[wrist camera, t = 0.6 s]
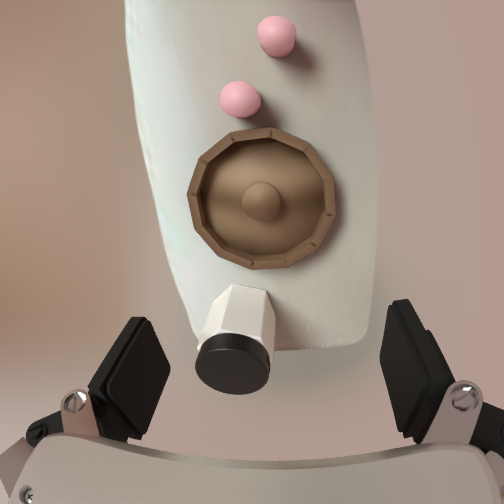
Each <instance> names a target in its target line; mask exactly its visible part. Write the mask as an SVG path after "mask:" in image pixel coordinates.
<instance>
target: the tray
mask: <svg viewBox="0 0 504 504" xmlns="http://www.w3.org/2000/svg"><path fill="white" fill-rule="evenodd" d="M187 197H188V202H189V207H190V211H191V216H192V221H193V225H194V229H195V230H196V232H197V233H198V234H199V235H200V236H201V237H202V239H203V240H204V241H205V242H206V243H207V244H208V245H209V247H210V248H211V249H212V250H213V251H214V252H215V253H216V255H217V256H218V257H221V258H223V259H226V260H228V261H231V262H233V263H236V264H238V265H241V266H243V267H246V268H248V269H252V270H257V269H270V268H283V267H287V266H288V267H289V266H290V265H292V264H294V263H295V262H297V261H298V260H300V259H302V258H303V257H305V256H306V255H308V254H310V253H311V252H313V251H314V250H316V249H318V248H319V246H320V244H321V242H322V240H323V239H324V237H325V235H326V233H327V231H328V229H329V228H330V226H331V224H332V222H333V220H334V218H335V216H336V208H335V189H334V178H333V176H332V174H331V173H330V171H329V170H328V168H327V167H326V165H325V164H324V163H323V161H322V160H321V158H320V157H319V155H318V154H317V153H316V151H315V150H314V148H313V147H312V146H311V144H310V143H308V142H307V141H305V140H302V139H300V138H298V137H296V136H293V135H291V134H289V133H286V132H284V131H282V130H279V129H277V128H275V127H264V128H256V129H249V130H242V131H235V132H231V133H229V134H228V135H226V136H225V137H224V138H223V139H221V140H220V141H219V142H218V143H216V144H215V145H214V146H213V147H211V148H210V149H209V150H208V151H207V152H205V153H204V154H203V155H202V156H201V157H199V159H198V162H197V165H196V168H195V170H194V173H193V176H192V179H191V182H190V185H189V188H188V191H187Z"/></svg>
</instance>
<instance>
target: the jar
mask: <svg viewBox="0 0 504 504" xmlns="http://www.w3.org/2000/svg"><path fill="white" fill-rule="evenodd" d="M275 319H276V316H275V313H274V310H273V308H272V305H271V302H270V300H269V297H268V294H267V292H266V291H265V290H261V289H256V288H251V287H247V286H242V285H238V284H231V285H230V286H229V287H228V288H227V289H226V290H225V291H224V292H223V293H222V294H221V295H220V296H219V297H218V298H217V299H216V300H215V301H214V302H213V303H212V306H211V309H210V312H209V315H208V317H207V320H206V323H205V326H204V329H203V332H202V334H201V337H200V340H199V343H198V346H197V350H198V351H199V354H198V357H197V360H196V363H195V369H196V372H197V375H198V376H199V378H200V379H201V380H202V381H203V382H204V383H205V384H206V385H208V386H209V387H211V388H213V389H215V390H217V391H220V392H223V393H228V394H235V395H243V394H249V393H253V392H255V391H258V390H259V389H261V388H262V387H263V386H264V385H265V384H266V383H267V381H268V378H269V372H270V366H271V365H272V364H273V354H274V337H275Z"/></svg>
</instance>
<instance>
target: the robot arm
mask: <svg viewBox="0 0 504 504" xmlns="http://www.w3.org/2000/svg"><path fill="white" fill-rule="evenodd" d="M380 364H381V368H382V371H383V375H384V378H385V382H386V385H387V389H388V393H389V397H390V400H391V404H392V408H393V412H394V416H395V420H396V425H397V429H398V431H399V432H403V436H404V438H408V437H413V440H414V442H416V444H415V445H412V446H406V447H401V448H395V449H390V450H384V451H379V452H373V453H367V454H360V455H353V456H344V457H336V458H326V459H314V460H296V461H295V460H294V461H250V460H231V459H218V458H208V457H199V456H191V455H184V454H177V453H171V452H166V451H160V450H155V449H150V448H145V447H141V446H136V445H132V444H128V442H127V439H128V437H130V438H133V439H137V440H141V438H142V436H143V434H145V433H146V432H147V430H148V427H149V424H150V422H151V419H152V417H153V414H154V412H155V409H156V407H157V404H158V401H159V399H160V396H161V394H162V391H163V389H164V386H165V384H166V381H167V379H168V376H169V373H170V364H169V362H168V360H167V358H166V356H165V353H164V351H163V349H162V347H161V345H160V343H159V340H158V338H157V336H156V334H155V331H154V329H153V326H152V324H151V322H150V321H148V320H147V319H146V318H145V317H131V318H130V320H129V321H128V323H127V324H126V326H125V328H124V329H123V330H122V332H121V333H120V335H119V337H118V338H117V340H116V341H115V343H114V345H113V346H112V347H111V349H110V351H109V352H108V354H107V355H106V357H105V359H104V360H103V362H102V363H101V365H100V367H99V368H98V370H97V371H96V373H95V375H94V376H93V378H92V380H91V381H90V383H89V385H88V388H89V391H88V393H87V392H86V391H85V390H82V389H81V390H80V389H77V390H73V391H71V392H69V393H68V394H67V395H66V396H65V397H64V398H63V400H62V402H61V410H60V411H58V412H56V413H53V414H51V415H49V416H47V417H44V418H42V419H40V420H38V421H35V422H34V423H32V424H31V426H29V428H28V430H27V432H26V439H25V438H24V437H22V438H21V439H20V440H18V441H17V442H16V443H15V444H14V445H12V446H11V447H10V448H9V449H7V450H6V451H5V452H3V453H2V454H1V455H0V478H1V480H2V483H3V485H4V487H5V489H6V492H7V494H8V496H9V498H10V499H9V502H8V504H504V410H502V409H500V408H497V407H495V406H493V405H490V404H488V403H485V402H483V395H482V391H481V390H480V388H479V387H478V386H477V385H476V384H474V383H473V382H471V381H466V380H462V381H457V382H456V381H455V379H454V377H453V375H452V373H451V370H450V369H449V366H448V364H447V362H446V360H445V358H444V356H443V354H442V352H441V350H440V348H439V346H438V344H437V342H436V340H435V338H434V337H433V335H432V333H431V332H430V331H429V330H425V328H424V327H423V325H422V323H421V321H420V319H419V318H418V315H417V314H416V312H415V310H414V308H413V306H412V305H411V303H410V301H409V300H408V299H403V300H396V301H393V303H392V305H389V307H388V311H387V318H386V324H385V330H384V336H383V341H382V346H381V351H380ZM499 487H500V489H499ZM500 492H501V493H500Z"/></svg>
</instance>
